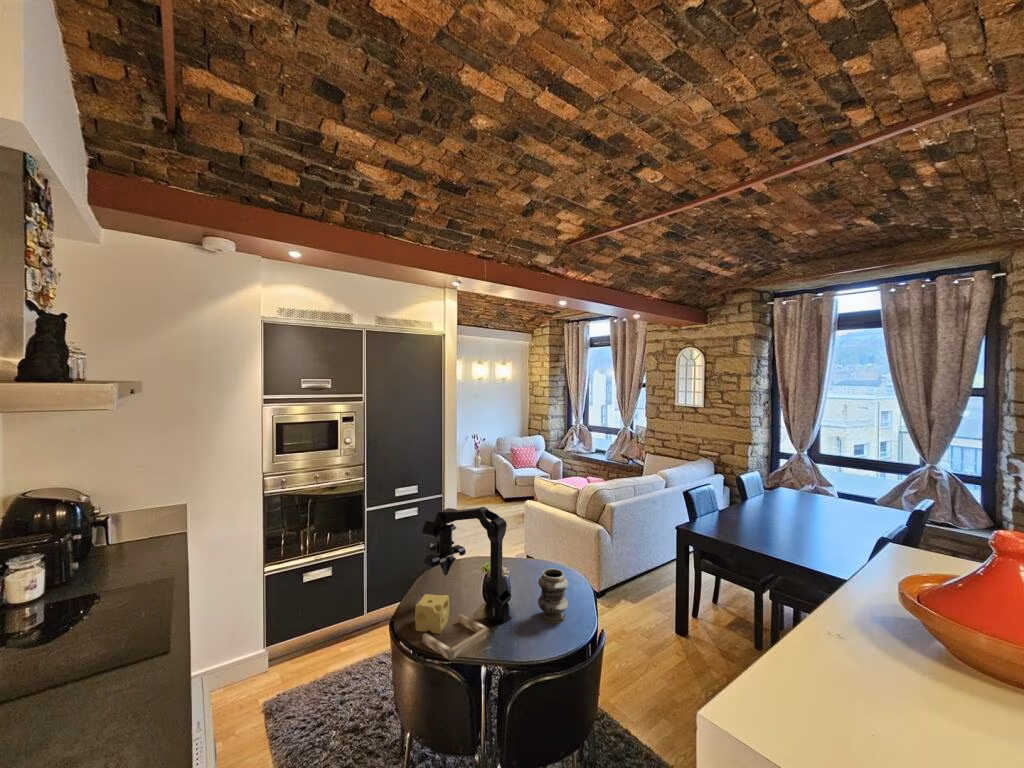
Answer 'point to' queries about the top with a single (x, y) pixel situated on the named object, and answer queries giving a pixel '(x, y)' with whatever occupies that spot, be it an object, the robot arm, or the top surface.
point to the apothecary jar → (553, 595)
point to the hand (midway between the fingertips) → (445, 575)
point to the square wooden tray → (462, 646)
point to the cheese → (432, 613)
